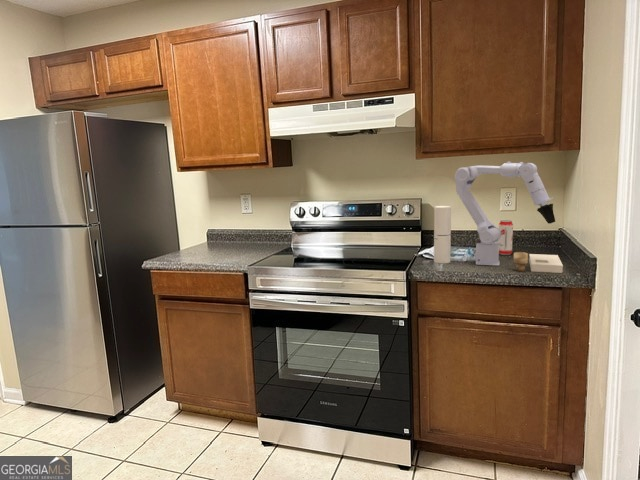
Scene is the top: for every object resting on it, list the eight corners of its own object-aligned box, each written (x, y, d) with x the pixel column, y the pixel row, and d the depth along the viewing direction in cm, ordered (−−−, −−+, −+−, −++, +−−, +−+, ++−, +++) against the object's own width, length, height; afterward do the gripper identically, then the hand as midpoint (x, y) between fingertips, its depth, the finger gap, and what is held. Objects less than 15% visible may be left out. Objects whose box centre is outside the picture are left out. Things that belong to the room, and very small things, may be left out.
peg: (513, 271, 174) (513, 254, 173) (513, 268, 179) (513, 251, 178) (527, 272, 172) (528, 254, 171) (527, 269, 177) (527, 252, 176)
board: (531, 271, 173) (531, 264, 173) (529, 260, 191) (529, 253, 191) (562, 273, 169) (562, 265, 168) (557, 261, 187) (557, 255, 186)
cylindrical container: (446, 264, 191) (446, 207, 186) (431, 262, 195) (431, 207, 191) (452, 261, 196) (453, 206, 192) (438, 259, 201) (438, 205, 196)
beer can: (508, 252, 209) (509, 219, 207) (514, 255, 203) (515, 221, 200) (495, 253, 209) (496, 220, 206) (501, 255, 203) (502, 222, 200)
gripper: (549, 185, 163) (564, 218, 162) (546, 188, 177) (560, 218, 175) (529, 193, 166) (544, 225, 164) (528, 195, 179) (542, 225, 178)
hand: (551, 222), depth 170 cm, fingers open, 7 cm apart
